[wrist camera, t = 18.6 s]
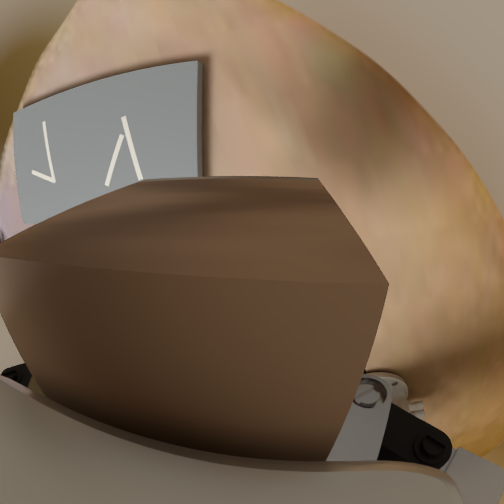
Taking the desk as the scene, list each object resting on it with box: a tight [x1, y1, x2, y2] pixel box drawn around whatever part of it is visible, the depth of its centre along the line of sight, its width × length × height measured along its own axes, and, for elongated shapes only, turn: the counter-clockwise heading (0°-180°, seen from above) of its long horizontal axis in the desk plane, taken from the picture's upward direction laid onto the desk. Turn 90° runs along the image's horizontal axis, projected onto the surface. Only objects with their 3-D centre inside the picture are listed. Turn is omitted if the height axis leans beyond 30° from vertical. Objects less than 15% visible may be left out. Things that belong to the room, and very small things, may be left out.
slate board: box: [13, 60, 203, 224], centre depth 23 cm, size 24×14×2 cm, turn 89°
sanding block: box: [0, 176, 389, 461], centre depth 8 cm, size 6×10×7 cm, turn 0°
